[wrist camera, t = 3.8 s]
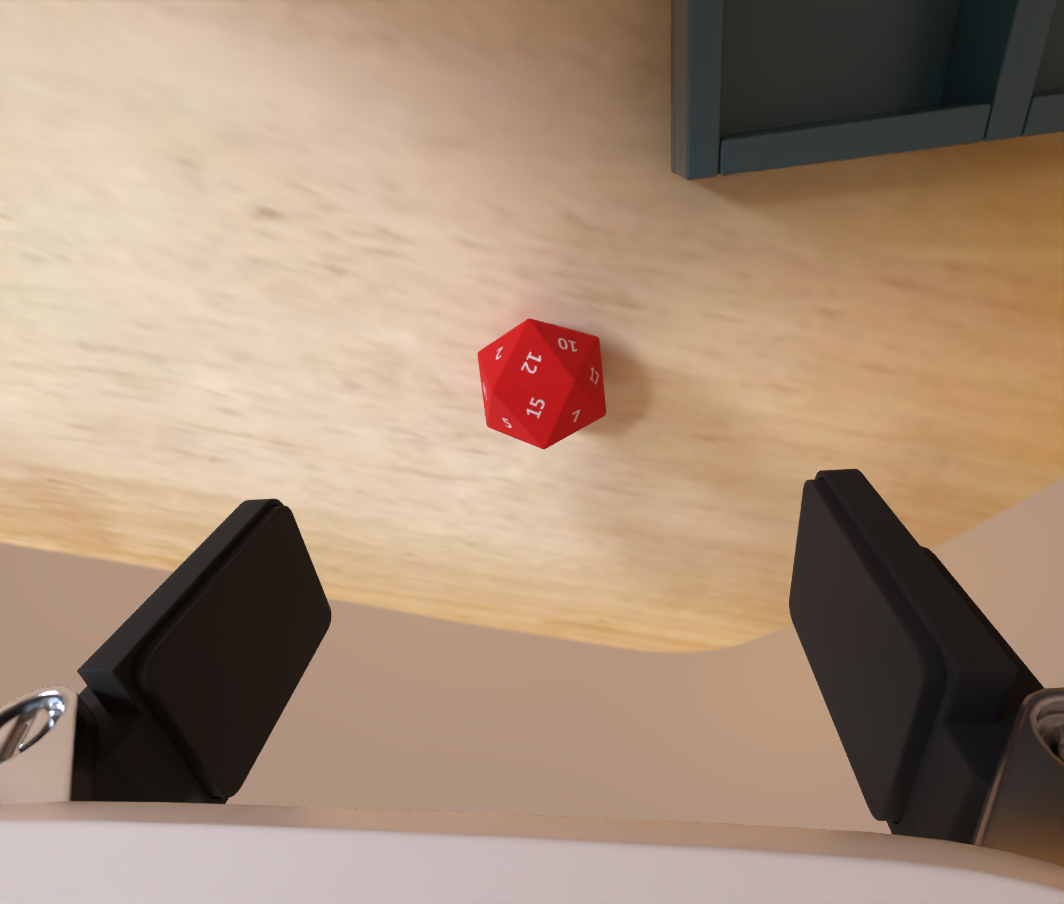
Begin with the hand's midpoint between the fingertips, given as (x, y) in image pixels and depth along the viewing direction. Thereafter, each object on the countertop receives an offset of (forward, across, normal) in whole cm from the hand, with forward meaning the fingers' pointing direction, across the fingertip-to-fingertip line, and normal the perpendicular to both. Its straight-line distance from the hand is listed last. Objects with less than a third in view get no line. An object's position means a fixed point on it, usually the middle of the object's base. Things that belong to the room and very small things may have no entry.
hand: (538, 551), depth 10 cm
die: (+8, 0, -1) cm, 8 cm away
